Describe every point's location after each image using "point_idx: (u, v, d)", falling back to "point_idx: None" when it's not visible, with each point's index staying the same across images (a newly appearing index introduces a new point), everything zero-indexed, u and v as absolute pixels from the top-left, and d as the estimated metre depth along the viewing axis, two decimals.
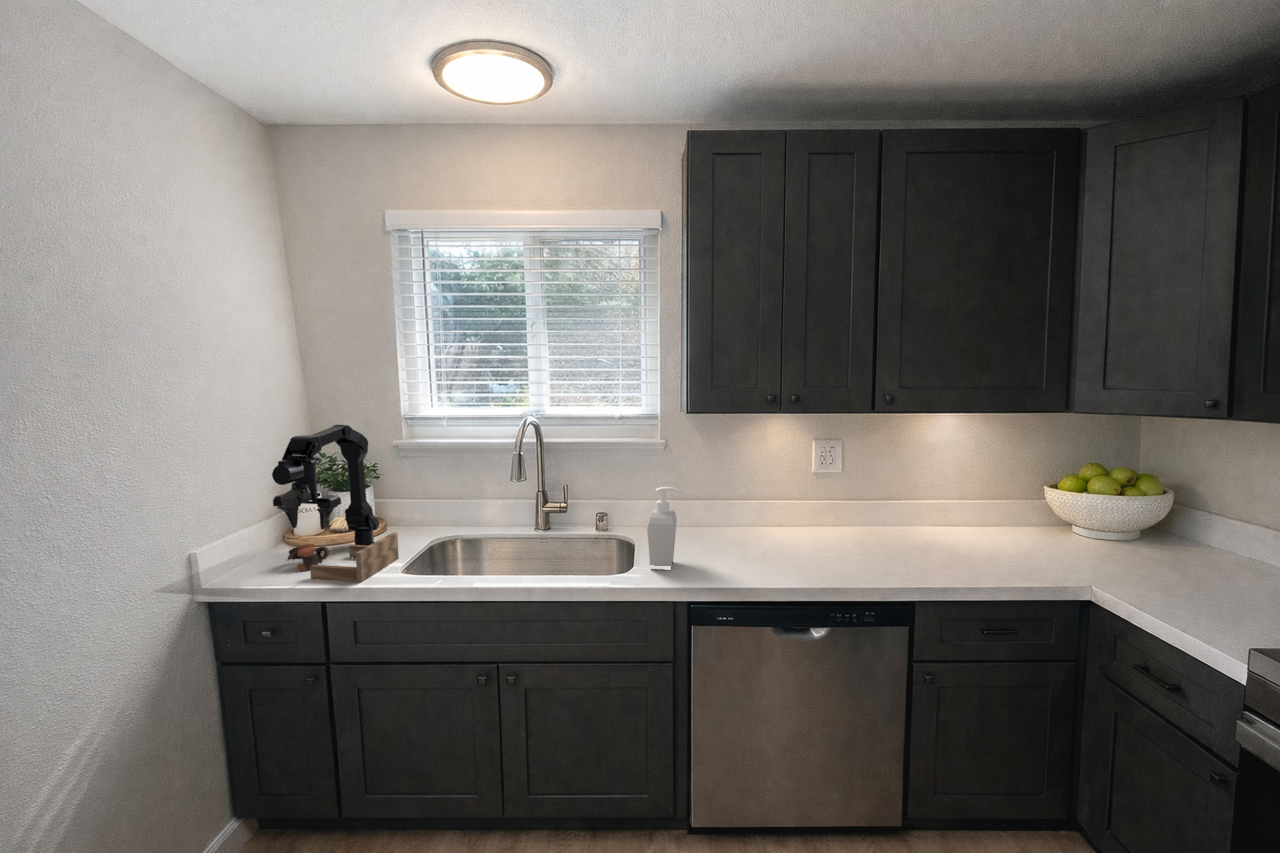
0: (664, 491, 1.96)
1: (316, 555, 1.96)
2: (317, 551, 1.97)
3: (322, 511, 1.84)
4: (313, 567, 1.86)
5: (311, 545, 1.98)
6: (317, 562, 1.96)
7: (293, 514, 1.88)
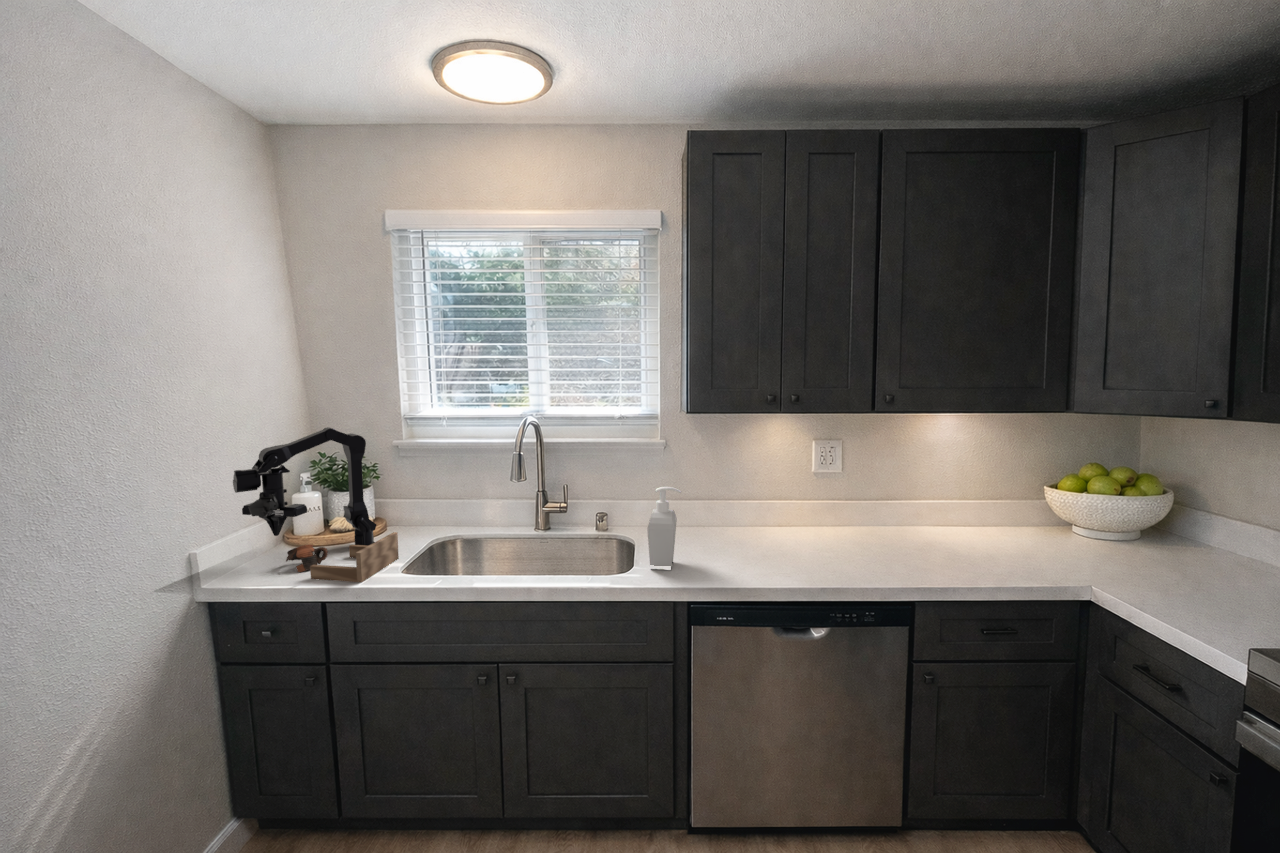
0: (664, 491, 1.96)
1: (315, 556, 1.95)
2: (316, 552, 1.96)
3: (276, 519, 1.95)
4: (313, 567, 1.86)
5: (310, 546, 1.97)
6: (316, 563, 1.95)
7: None
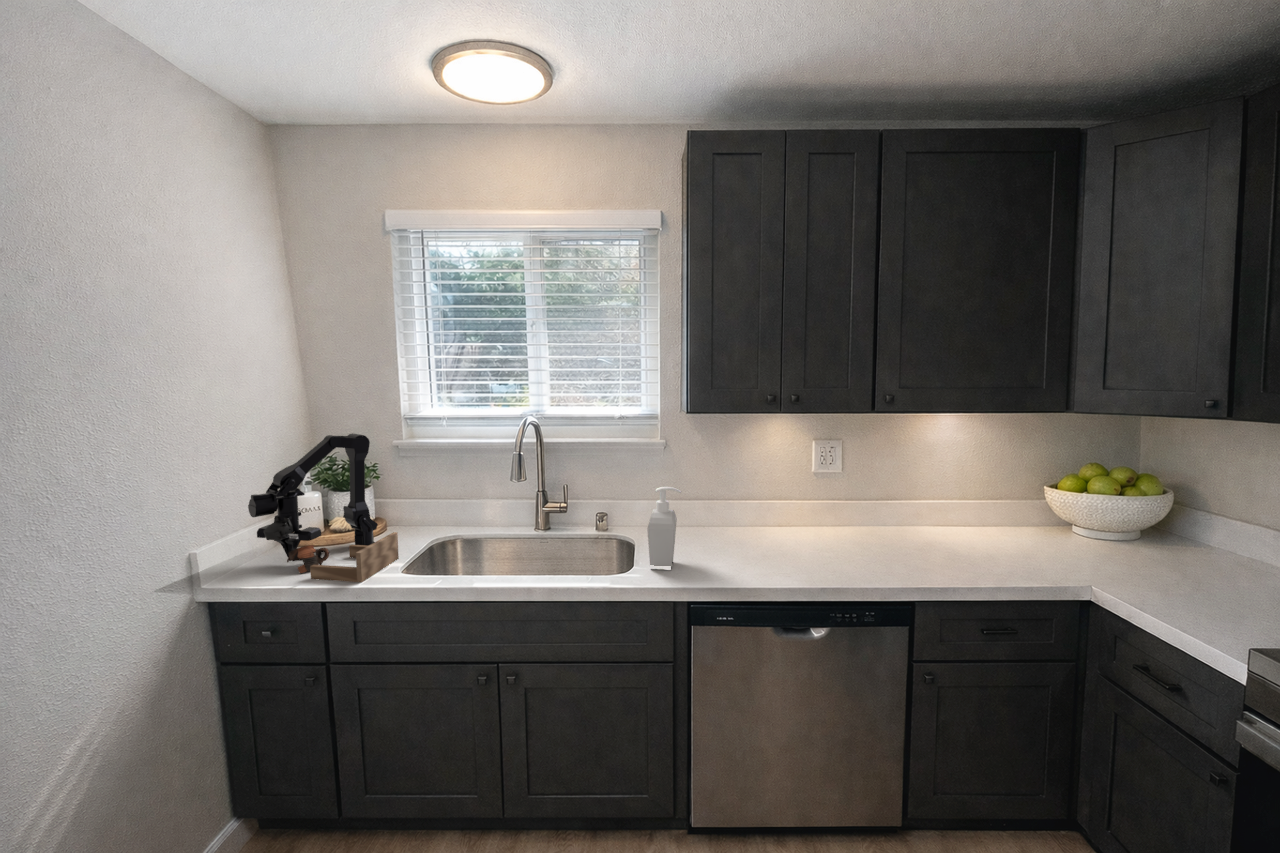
0: (664, 491, 1.96)
1: (316, 556, 1.94)
2: (317, 552, 1.95)
3: (290, 542, 1.95)
4: (313, 567, 1.86)
5: (311, 546, 1.96)
6: (317, 564, 1.94)
7: None
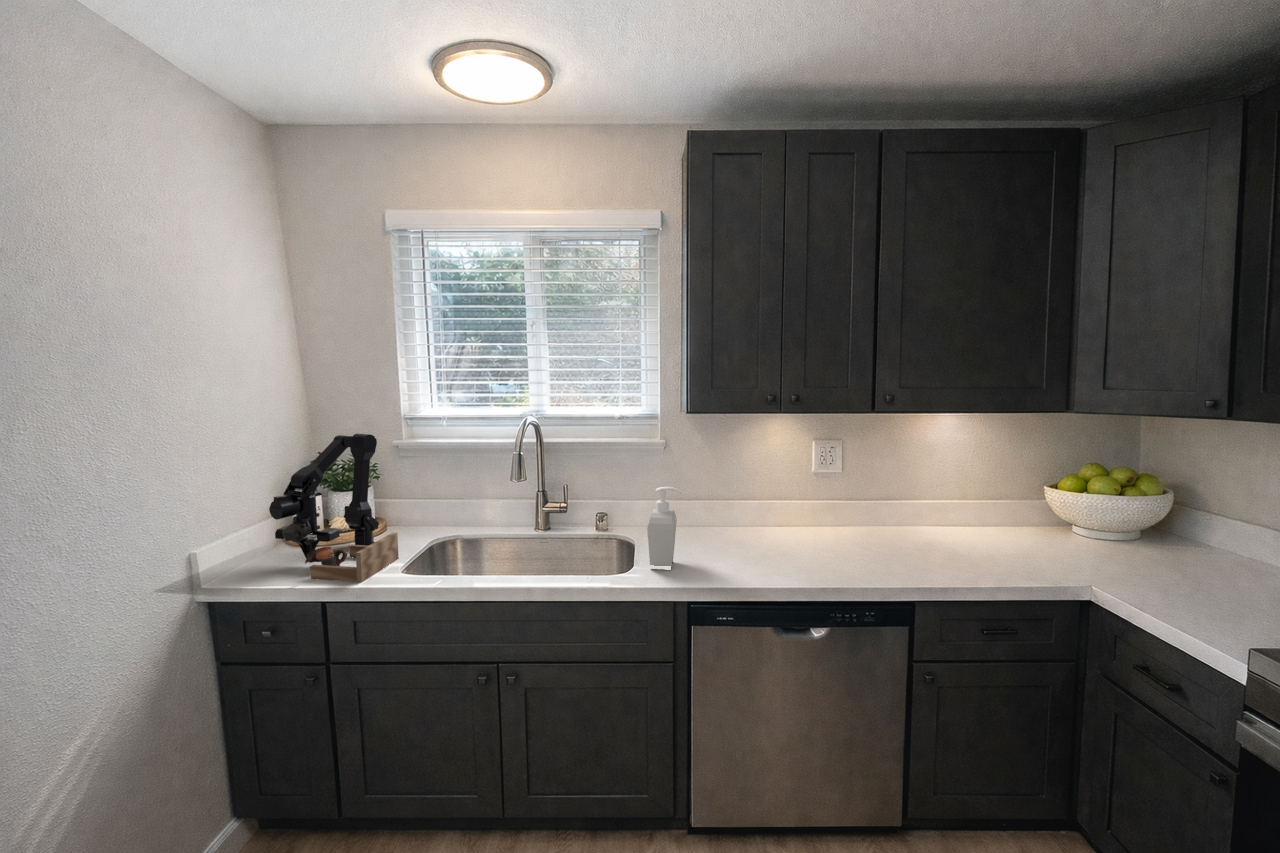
0: (664, 491, 1.96)
1: (334, 558, 1.93)
2: (335, 554, 1.94)
3: (308, 543, 1.94)
4: (313, 567, 1.86)
5: (329, 548, 1.95)
6: (335, 565, 1.93)
7: None
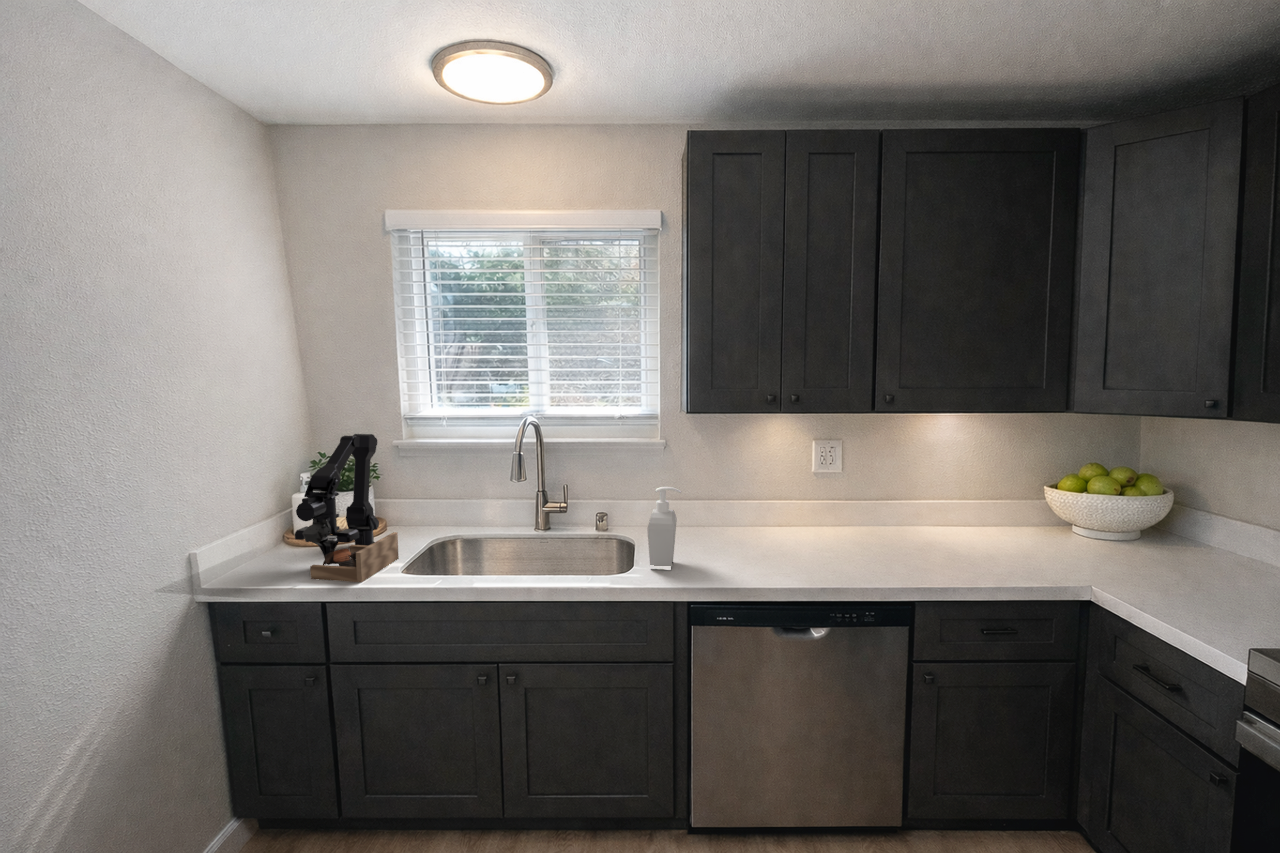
0: (664, 491, 1.96)
1: (352, 560, 1.92)
2: (353, 556, 1.93)
3: (328, 544, 1.93)
4: (313, 567, 1.86)
5: (346, 550, 1.93)
6: None
7: None
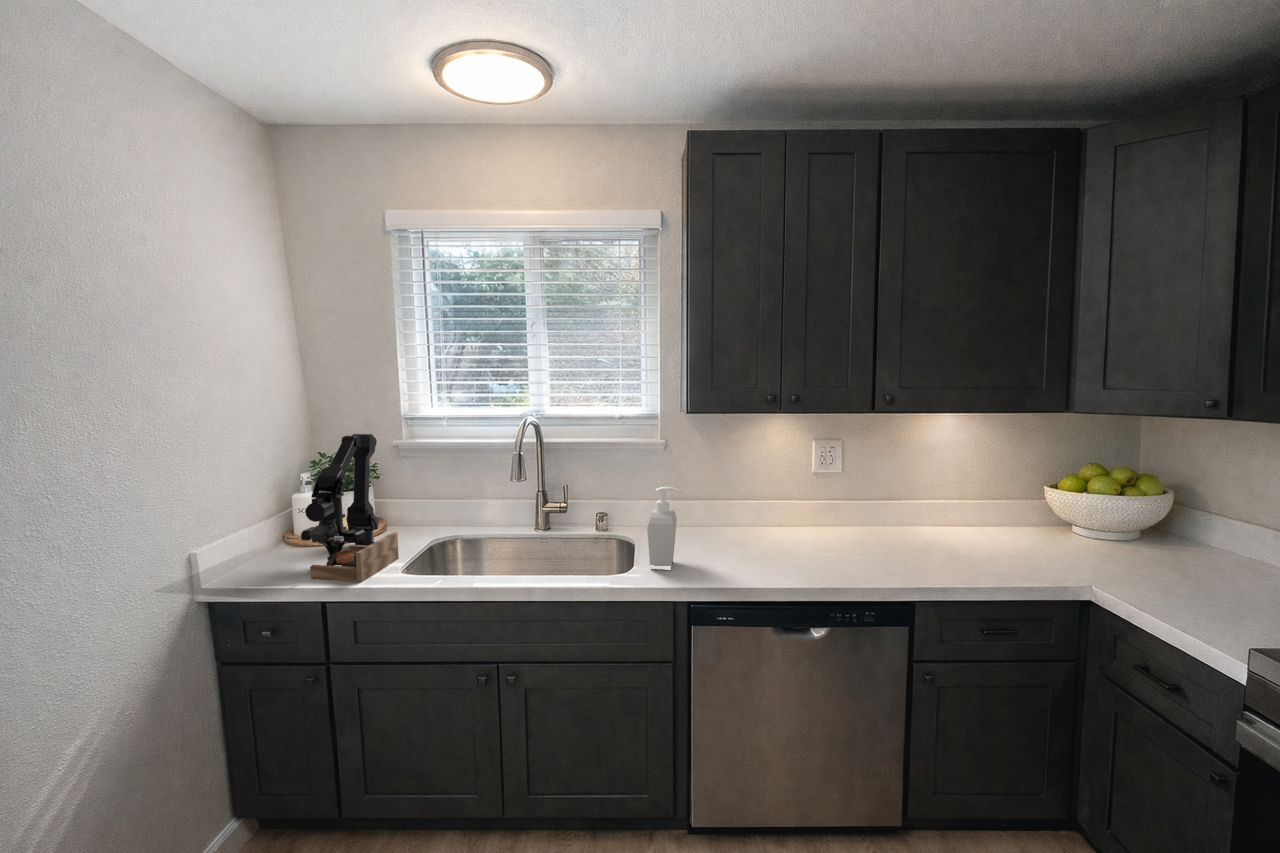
0: (664, 491, 1.96)
1: (355, 562, 1.91)
2: None
3: (335, 544, 1.93)
4: (313, 567, 1.86)
5: (350, 551, 1.92)
6: None
7: None
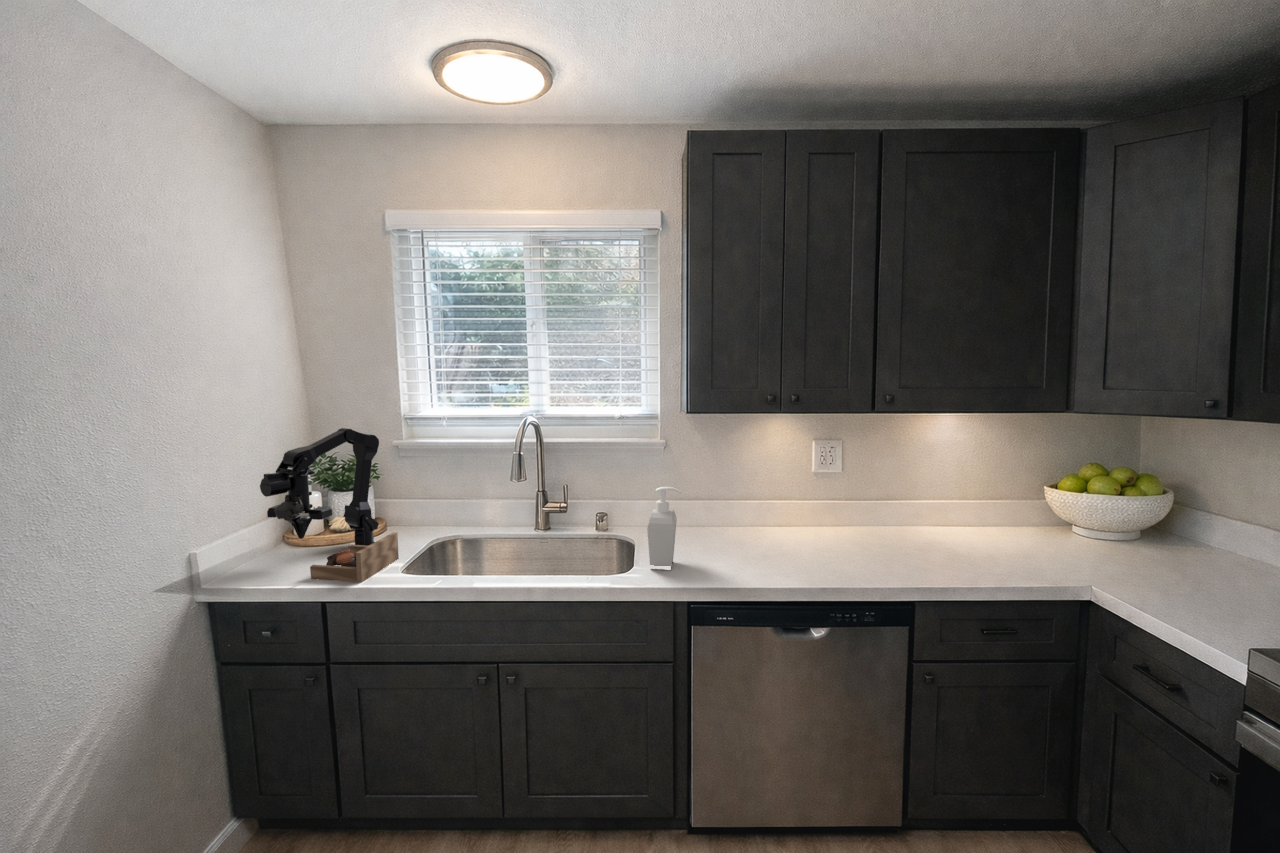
0: (664, 491, 1.96)
1: (355, 562, 1.90)
2: None
3: (301, 521, 1.93)
4: (313, 567, 1.86)
5: (350, 551, 1.92)
6: None
7: None
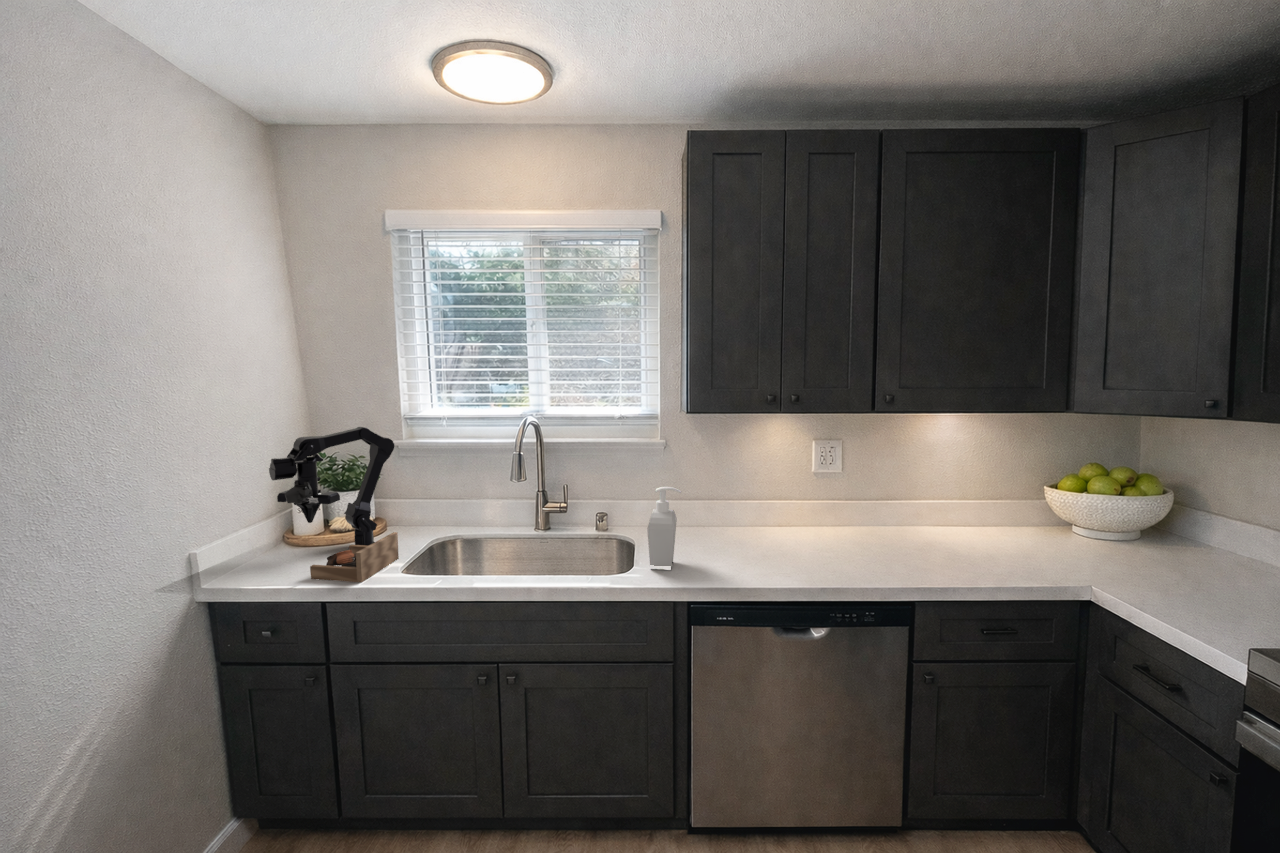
0: (664, 491, 1.96)
1: (355, 562, 1.90)
2: None
3: (310, 506, 2.00)
4: (313, 567, 1.86)
5: (350, 551, 1.92)
6: None
7: None
